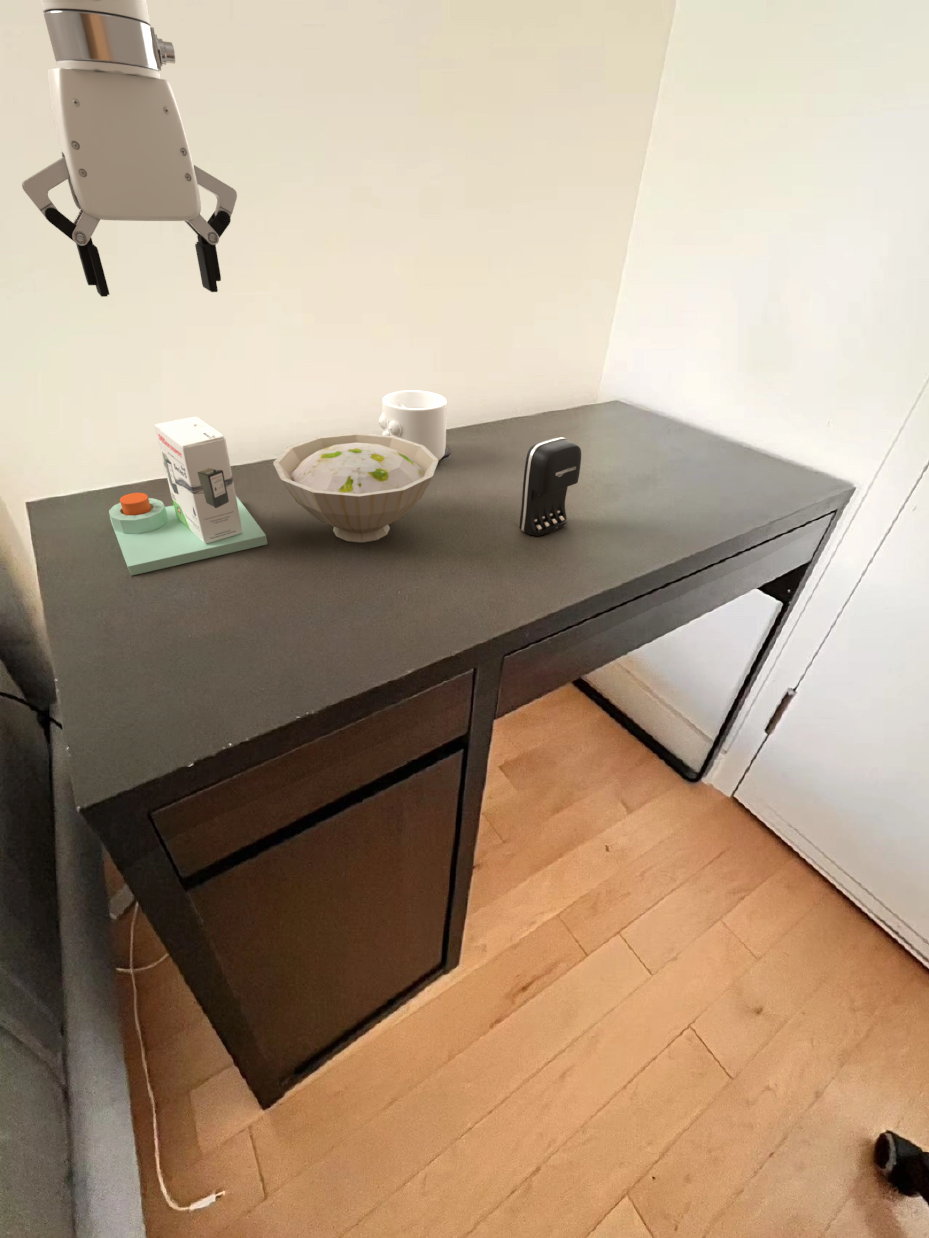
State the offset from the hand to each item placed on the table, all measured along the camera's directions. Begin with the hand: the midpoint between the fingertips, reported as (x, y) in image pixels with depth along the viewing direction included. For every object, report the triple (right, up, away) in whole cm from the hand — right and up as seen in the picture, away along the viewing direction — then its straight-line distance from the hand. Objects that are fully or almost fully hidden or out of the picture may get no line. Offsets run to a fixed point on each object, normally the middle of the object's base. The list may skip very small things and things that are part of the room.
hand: (158, 292), depth 59 cm
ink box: (-1, -20, +15) cm, 25 cm away
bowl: (+16, -20, +18) cm, 32 cm away
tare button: (-9, -19, +14) cm, 25 cm away
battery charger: (+40, -20, +21) cm, 49 cm away
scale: (-4, -21, +15) cm, 26 cm away
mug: (+21, -6, +39) cm, 44 cm away
